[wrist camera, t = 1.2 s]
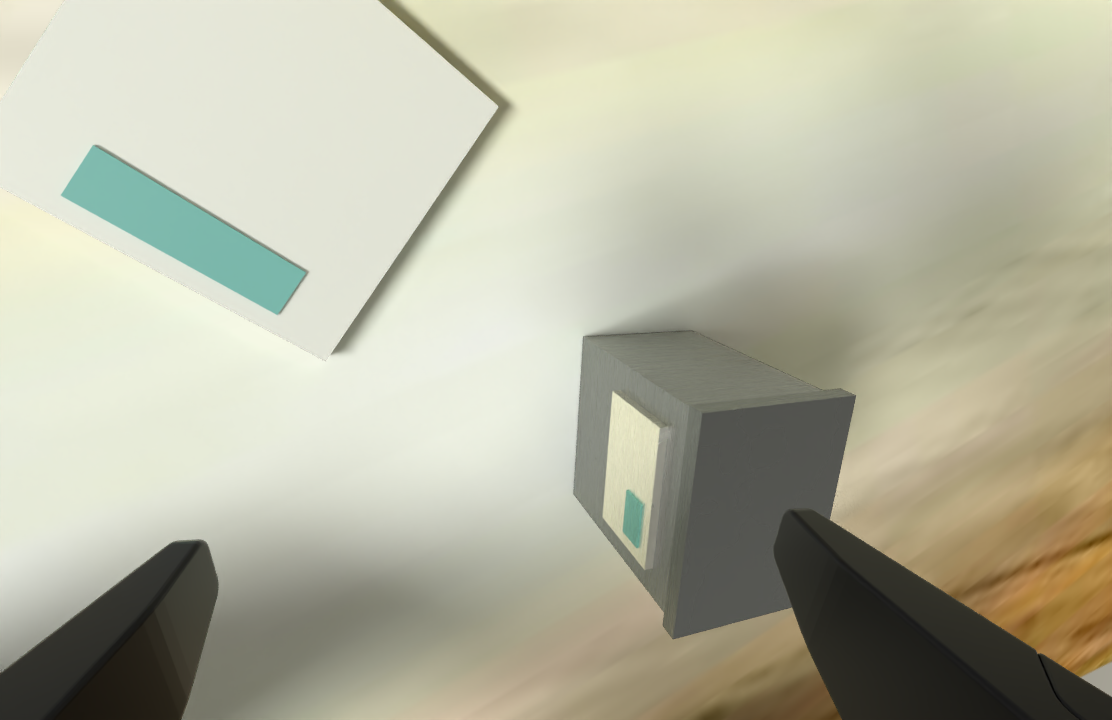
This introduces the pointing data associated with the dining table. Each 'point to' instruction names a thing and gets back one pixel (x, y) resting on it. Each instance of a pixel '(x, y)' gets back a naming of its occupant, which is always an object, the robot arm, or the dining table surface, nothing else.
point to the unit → (702, 468)
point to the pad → (242, 146)
